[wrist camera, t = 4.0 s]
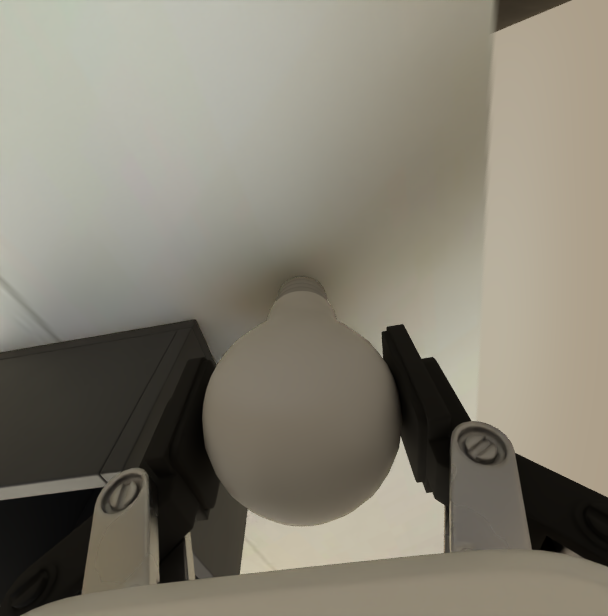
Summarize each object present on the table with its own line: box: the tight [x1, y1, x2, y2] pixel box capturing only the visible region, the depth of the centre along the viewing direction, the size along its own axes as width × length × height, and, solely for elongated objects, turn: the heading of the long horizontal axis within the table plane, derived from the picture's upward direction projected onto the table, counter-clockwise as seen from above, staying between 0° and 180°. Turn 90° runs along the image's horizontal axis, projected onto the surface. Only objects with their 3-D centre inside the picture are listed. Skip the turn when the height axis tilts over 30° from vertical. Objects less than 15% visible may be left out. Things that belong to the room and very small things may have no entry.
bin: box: [0, 320, 247, 605], centre depth 18 cm, size 13×13×9 cm
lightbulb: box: [202, 276, 402, 526], centre depth 12 cm, size 6×6×11 cm
